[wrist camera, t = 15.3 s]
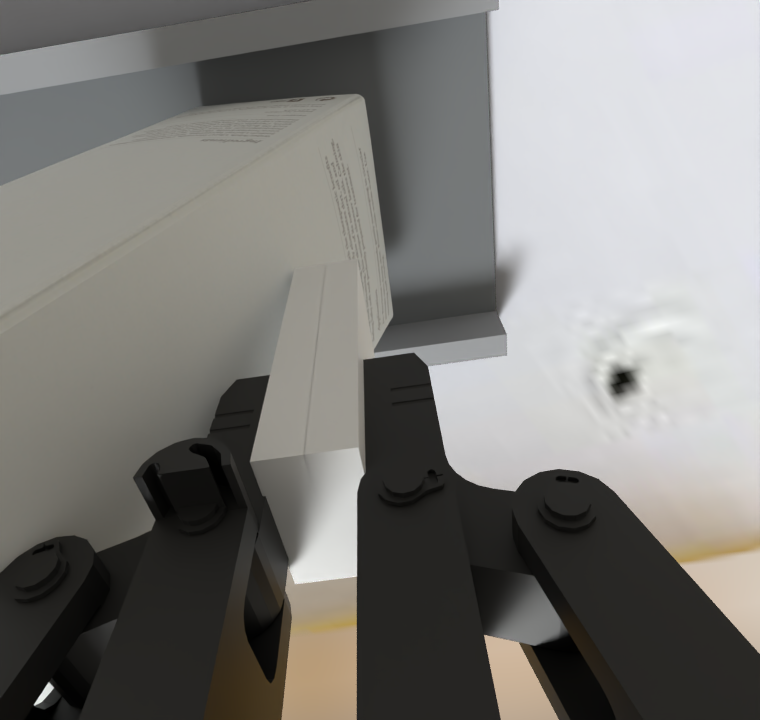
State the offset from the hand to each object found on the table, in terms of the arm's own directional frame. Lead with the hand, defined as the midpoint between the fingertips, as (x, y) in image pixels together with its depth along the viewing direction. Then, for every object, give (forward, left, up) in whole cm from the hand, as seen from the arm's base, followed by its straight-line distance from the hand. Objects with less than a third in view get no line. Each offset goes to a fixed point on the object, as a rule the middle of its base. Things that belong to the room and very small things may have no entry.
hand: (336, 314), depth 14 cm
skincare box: (-1, 0, -8) cm, 8 cm away
